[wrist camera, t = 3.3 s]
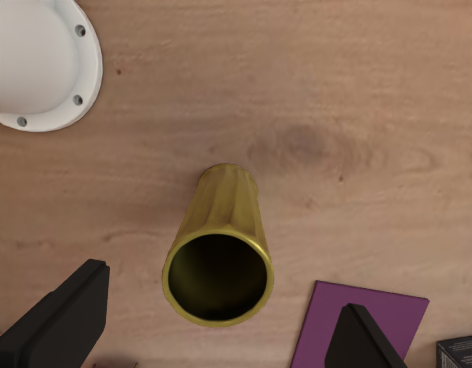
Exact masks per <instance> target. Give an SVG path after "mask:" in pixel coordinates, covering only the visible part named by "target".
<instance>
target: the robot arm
mask: <svg viewBox="0 0 472 368" xmlns="http://www.w3.org/2000/svg"><path fill="white" fill-rule="evenodd" d="M85 31H86V33H85V35H84V32H85ZM102 74H103V67H102V54H101V49H100V45H99V41H98V38H97V36H96V33H95V31H94V28H93V26H92V24H91V23H90V21H89V19H88V18H87V16H86V14H85V13H84V11H83V10H82V9H81V8H80V7H79V5H78V4H77V3H76V2H75V1H74V0H0V123H2V124H3V125H5V126H8V127H11V128H14V129H17V130H22V131H29V132H47V131H54V130H59V129H62V128H65V127H67V126H70V125H72V124H73V123H75V122H76V121H78V120H79V119H81V118H82V117H83V116H84V115H85V114H86V113H87V112H88V111H89V109H90V108H91V106H92V105H93V103H94V101H95V100H96V98H97V95H98V92H99V89H100V86H101V80H102ZM82 99H83V103H82V102H81V100H82ZM109 274H110V267H109V266H106V262H105V261H100V260H94V259H88V260H87V261H86V262H85V263H84V264H83V265H82V266H81V267H79V268H78V269H77V270H76V271H75V272H74V273H73V274H72V275H71V276H70V277H69V278H68V279H66V280H65V281H64V282H63V283H62V284H61V285H60V286H59V287H58V288H57V289H56V290H55V291H52V292H50V293H48V294H47V295H46V296H45V297H44V298H42V299H41V300H40V301H39V302H38V303H37V304H36V305H35V306H34V307H33V308H31V309H30V310H29V311H28V312H27V313H26V314H25V315H24V316H23V317H22V318H20V319H19V320H18V321H17V322H16V323H15V324H14V325H13V326H12V327H10V328H9V329H8V330H7V331H6V332H5V333H4V334H3V335H2V336H1V337H0V368H80V367H81V365H82V364H83V362H84V361H85V359H86V358H87V356H88V355H89V353H90V351H91V350H92V348H93V347H94V345H95V344H96V342H97V340H98V339H99V337H100V336H101V334H102V332H103V330H104V327H105V323H106V311H107V299H108V286H109ZM324 365H325V368H407V366H406V365H405V363H404V362H403V360H402V359H401V357H400V356H399V355H398V353H397V352H396V350H395V349H394V347H393V346H392V344H391V343H390V342H389V340H388V339H387V337H386V336H385V334H384V333H383V332H382V330H381V329H380V327H379V326H378V324H377V323H376V321H375V320H374V319H373V317H372V316H371V314H370V313H369V311H368V310H367V308H366V307H365V306H364V305H360V304H354V303H348V304H347V305H346V306H343V307H342V309H341V312H340V315H339V318H338V321H337V324H336V327H335V330H334V332H333V335H332V338H331V341H330V344H329V347H328V350H327V353H326V356H325V360H324Z"/></svg>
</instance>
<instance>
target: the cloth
mask: <svg viewBox="0 0 472 368" xmlns="http://www.w3.org/2000/svg"><path fill="white" fill-rule="evenodd" d="M429 302H430V301H429V300H428V299H426V298H420V297H413V296H407V295H401V294H395V293H389V292H383V291H377V290H371V289H365V288H359V287H353V286H347V285H341V284H335V283H328V282H322V281H316V284H315V287H314V290H313V294H312V297H311V300H310V303H309V307H308V310H307V313H306V317H305V320H304V323H303V326H302V330H301V333H300V336H299V339H298V343H297V346H296V349H295V352H294V356H293V359H292V362H291V366H290V368H325V365H324V360H325V356H326V353H327V350H328V347H329V344H330V341H331V338H332V335H333V332H334V330H335V327H336V324H337V321H338V318H339V315H340V312H341V309H342V307H343V306H346V305H347V304H348V303H354V304H360V305H364V306H365V307H366V308H367V310H368V311H369V313H370V314H371V316H372V317H373V319H374V320H375V321H376V323H377V324H378V326H379V327H380V329H381V330H382V332H383V333H384V334H385V336H386V337H387V339H388V340H389V342H390V343H391V344H392V346H393V347H394V349H395V350H396V352H397V353H398V355H399V356H400V357H401V359H402V360H403V361H404V358H405V356H406V354H407V352H408V349H409V347H410V345H411V342H412V340H413V338H414V336H415V333H416V331H417V329H418V327H419V324H420V322H421V320H422V318H423V315H424V313H425V311H426V308H427V306H428V304H429Z"/></svg>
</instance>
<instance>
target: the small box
mask: <svg viewBox="0 0 472 368" xmlns="http://www.w3.org/2000/svg"><path fill="white" fill-rule="evenodd" d="M437 368H472V336H471V337H465V338H459V339H454V340H447V341H441V342H438V343H437Z"/></svg>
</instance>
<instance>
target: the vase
mask: <svg viewBox="0 0 472 368" xmlns="http://www.w3.org/2000/svg"><path fill="white" fill-rule="evenodd" d="M273 285H274V273H273V266H272V261H271V257H270V253H269V250H268V246H267V242H266V238H265V234H264V230H263V225H262V221H261V216H260V210H259V206H258V201H257V186H256V183H255V181H254V179H253V178H252V176H251V175H250V174H249V173H248V172H247V171H246V170H245V169H243V168H241V167H239V166H236V165H233V164H220V165H217V166H214V167H212V168H210V169H209V170H207V171H206V172H205V173H204V174H203V175H202V176H201V178H200V179H199V181H198V184H197V188H196V191H195V194H194V196H193V199H192V201H191V203H190V206H189V208H188V210H187V212H186V215H185V217H184V220H183V222H182V224H181V226H180V228H179V231H178V233H177V236H176V238H175V240H174V242H173V245H172V247H171V248H170V250H169V252H168V255H167V258H166V262H165V264H164V267H163V270H162V286H163V291H164V295H165V297H166V299H167V301H168V302H169V303H170V305H171V306H172V307H173V308H174V310H175V311H176V312H177V313H178V314H179V315H180V316H181V317H183V318H184V319H186V320H188V321H190V322H192V323H194V324H197V325H200V326H204V327H229V326H234V325H237V324H240V323H242V322H244V321H246V320H248V319H250V318H251V317H253V316H254V315H256V314H257V313H258V312H259V311H260V310H261V309H262V308H263V307H264V306H265V304H266V302H267V301H268V299H269V297H270V295H271V292H272V289H273Z"/></svg>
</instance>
